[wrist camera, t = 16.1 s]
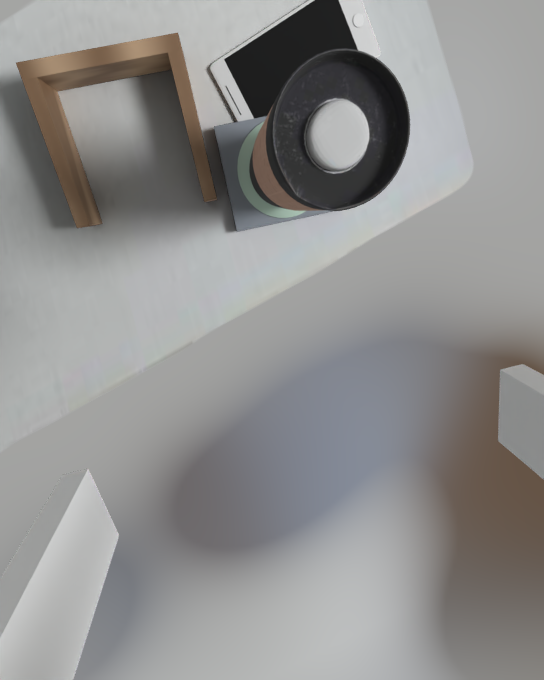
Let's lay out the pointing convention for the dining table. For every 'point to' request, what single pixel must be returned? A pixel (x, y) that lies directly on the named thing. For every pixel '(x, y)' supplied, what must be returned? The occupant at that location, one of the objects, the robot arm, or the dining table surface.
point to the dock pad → (248, 177)
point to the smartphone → (289, 52)
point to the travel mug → (332, 134)
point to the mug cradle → (99, 68)
